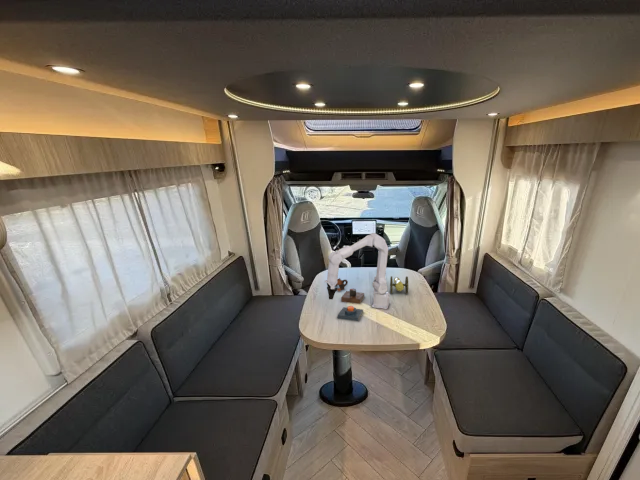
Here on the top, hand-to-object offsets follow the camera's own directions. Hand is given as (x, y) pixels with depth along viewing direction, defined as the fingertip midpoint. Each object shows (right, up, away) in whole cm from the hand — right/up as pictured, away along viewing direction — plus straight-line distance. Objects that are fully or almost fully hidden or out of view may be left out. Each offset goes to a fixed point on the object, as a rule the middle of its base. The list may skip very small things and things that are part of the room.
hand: (330, 296), depth 175 cm
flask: (+12, -11, +1) cm, 16 cm away
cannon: (+42, +2, +36) cm, 55 cm away
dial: (+12, -1, +20) cm, 23 cm away
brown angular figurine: (+2, +2, +37) cm, 37 cm away
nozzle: (+12, -8, -1) cm, 14 cm away
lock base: (+12, -3, +21) cm, 24 cm away
